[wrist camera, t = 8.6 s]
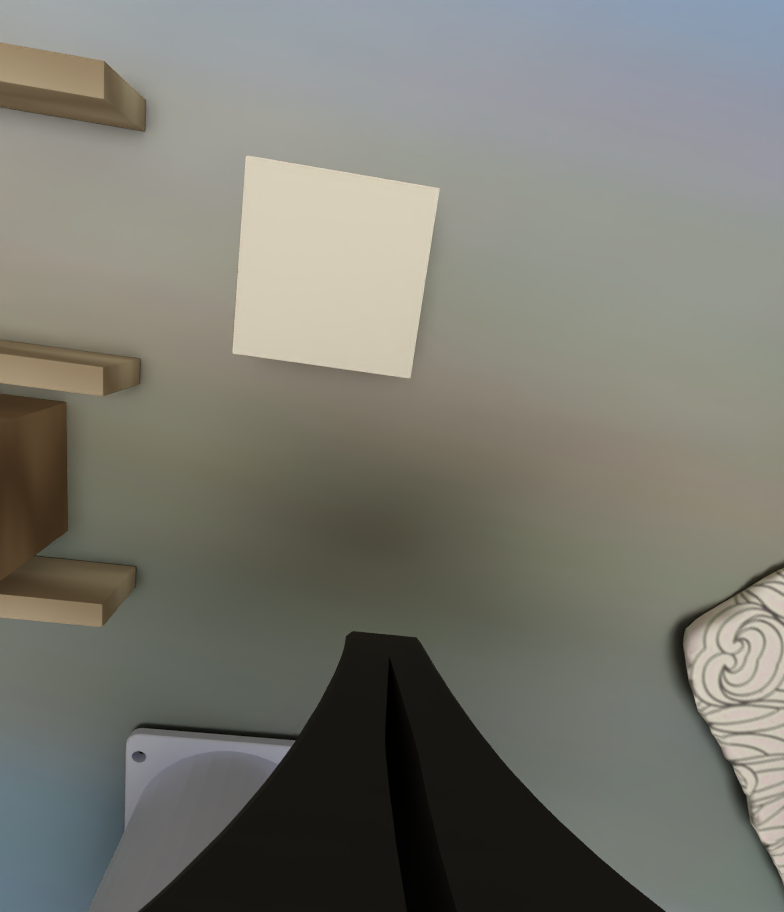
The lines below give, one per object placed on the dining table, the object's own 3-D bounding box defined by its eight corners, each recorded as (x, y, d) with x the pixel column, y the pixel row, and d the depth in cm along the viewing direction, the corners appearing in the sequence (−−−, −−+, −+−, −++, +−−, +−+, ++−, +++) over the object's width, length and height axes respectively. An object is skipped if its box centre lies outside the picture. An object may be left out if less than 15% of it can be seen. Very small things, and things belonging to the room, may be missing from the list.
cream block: (401, 363, 18) (410, 378, 14) (262, 343, 17) (232, 352, 13) (422, 215, 17) (439, 187, 13) (274, 191, 16) (246, 155, 12)
